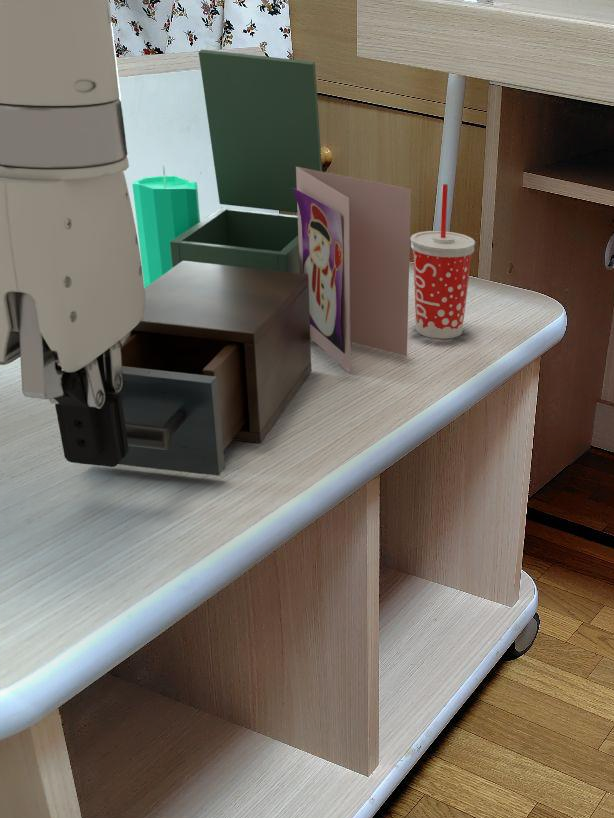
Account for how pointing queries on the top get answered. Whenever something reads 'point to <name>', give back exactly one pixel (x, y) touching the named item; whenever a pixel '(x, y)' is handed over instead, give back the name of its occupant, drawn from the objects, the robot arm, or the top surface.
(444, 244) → the beverage cup
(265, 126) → the chest lid
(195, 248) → the chest
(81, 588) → the top surface
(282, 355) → the cabinet
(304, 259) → the greeting card
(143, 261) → the candle
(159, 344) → the drawer
